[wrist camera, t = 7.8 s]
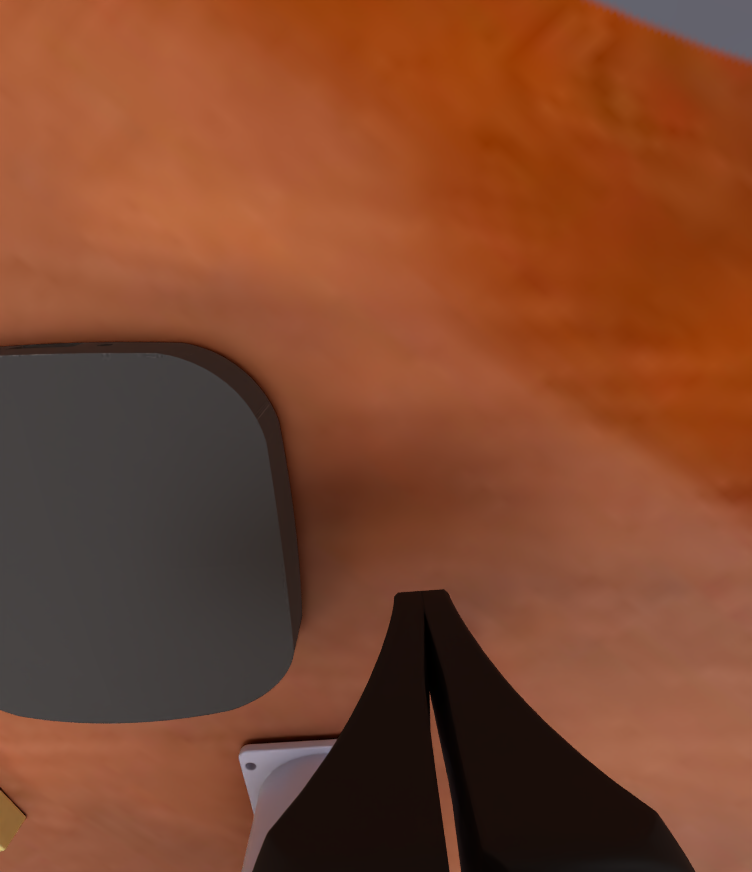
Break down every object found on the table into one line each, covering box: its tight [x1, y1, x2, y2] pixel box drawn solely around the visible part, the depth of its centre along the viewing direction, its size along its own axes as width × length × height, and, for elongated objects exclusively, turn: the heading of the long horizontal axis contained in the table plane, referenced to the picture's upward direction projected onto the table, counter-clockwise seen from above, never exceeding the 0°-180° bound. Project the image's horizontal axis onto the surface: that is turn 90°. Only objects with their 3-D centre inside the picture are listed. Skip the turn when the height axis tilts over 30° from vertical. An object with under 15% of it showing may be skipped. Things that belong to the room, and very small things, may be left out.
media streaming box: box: [0, 342, 302, 723], centre depth 17 cm, size 15×15×3 cm
